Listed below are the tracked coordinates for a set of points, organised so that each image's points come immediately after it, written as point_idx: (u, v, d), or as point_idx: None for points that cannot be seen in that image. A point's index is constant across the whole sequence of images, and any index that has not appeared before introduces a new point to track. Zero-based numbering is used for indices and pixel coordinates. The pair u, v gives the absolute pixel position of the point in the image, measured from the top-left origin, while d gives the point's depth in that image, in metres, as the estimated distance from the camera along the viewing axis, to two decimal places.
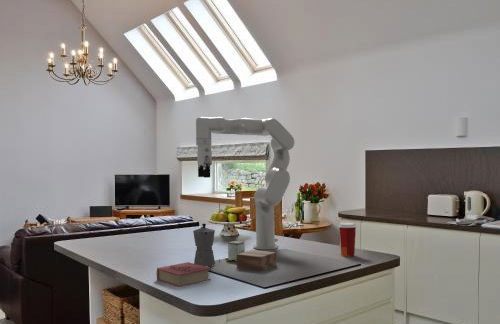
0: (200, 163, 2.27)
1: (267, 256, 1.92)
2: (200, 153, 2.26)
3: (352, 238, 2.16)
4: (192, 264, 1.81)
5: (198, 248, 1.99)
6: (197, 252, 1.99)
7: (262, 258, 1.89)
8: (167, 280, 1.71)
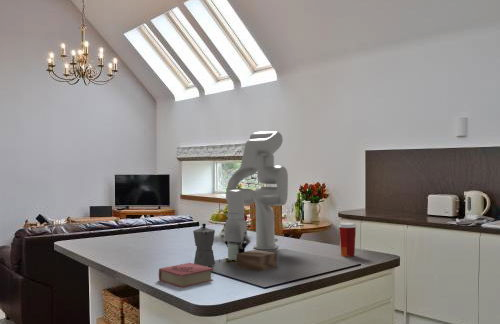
0: None
1: (266, 256, 1.92)
2: None
3: (352, 238, 2.16)
4: (194, 265, 1.80)
5: (198, 248, 1.99)
6: (197, 252, 1.99)
7: (260, 258, 1.89)
8: (169, 281, 1.70)
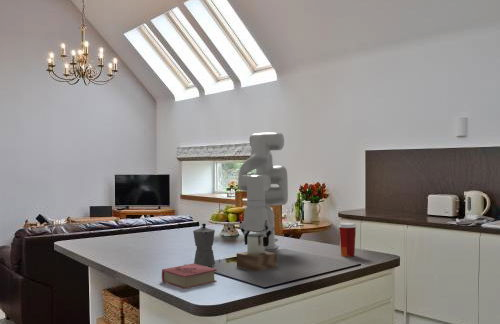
0: None
1: (264, 257, 1.92)
2: None
3: (352, 238, 2.16)
4: (197, 265, 1.79)
5: (198, 248, 1.99)
6: (197, 252, 1.99)
7: (258, 258, 1.89)
8: (172, 282, 1.69)
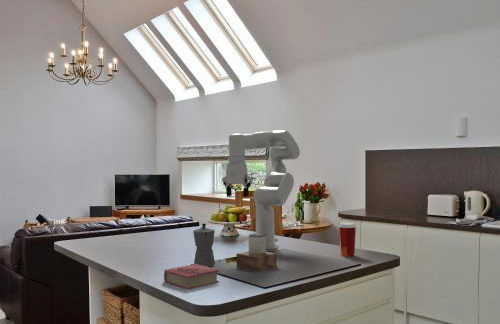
0: None
1: (264, 257, 1.91)
2: None
3: (352, 238, 2.16)
4: (200, 266, 1.78)
5: (198, 248, 1.99)
6: (197, 252, 1.99)
7: (258, 259, 1.88)
8: (175, 282, 1.68)
